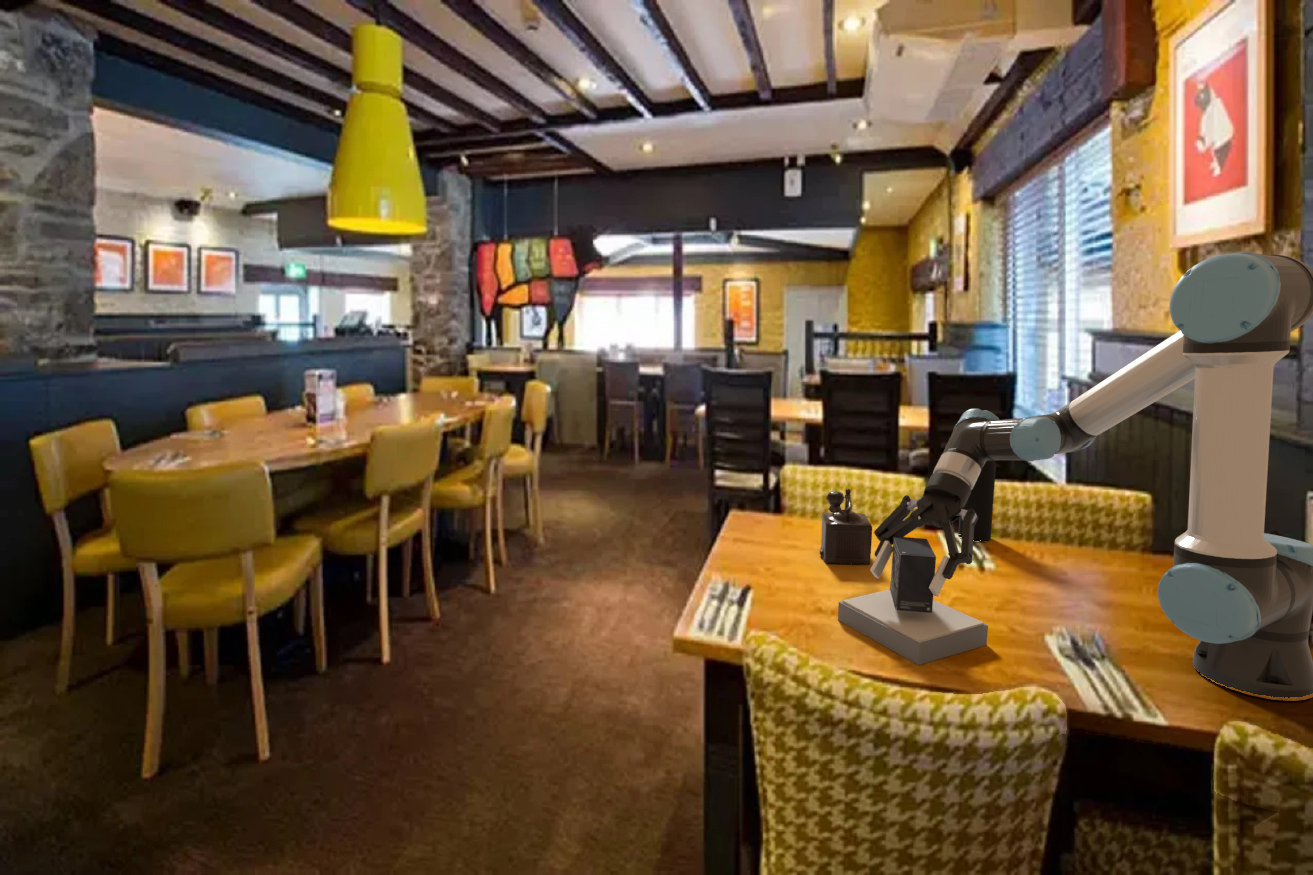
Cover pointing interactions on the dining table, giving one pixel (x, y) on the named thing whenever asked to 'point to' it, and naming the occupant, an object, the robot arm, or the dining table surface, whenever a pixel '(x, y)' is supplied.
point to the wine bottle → (982, 502)
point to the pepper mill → (845, 533)
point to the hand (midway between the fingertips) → (902, 583)
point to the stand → (913, 627)
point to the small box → (912, 574)
